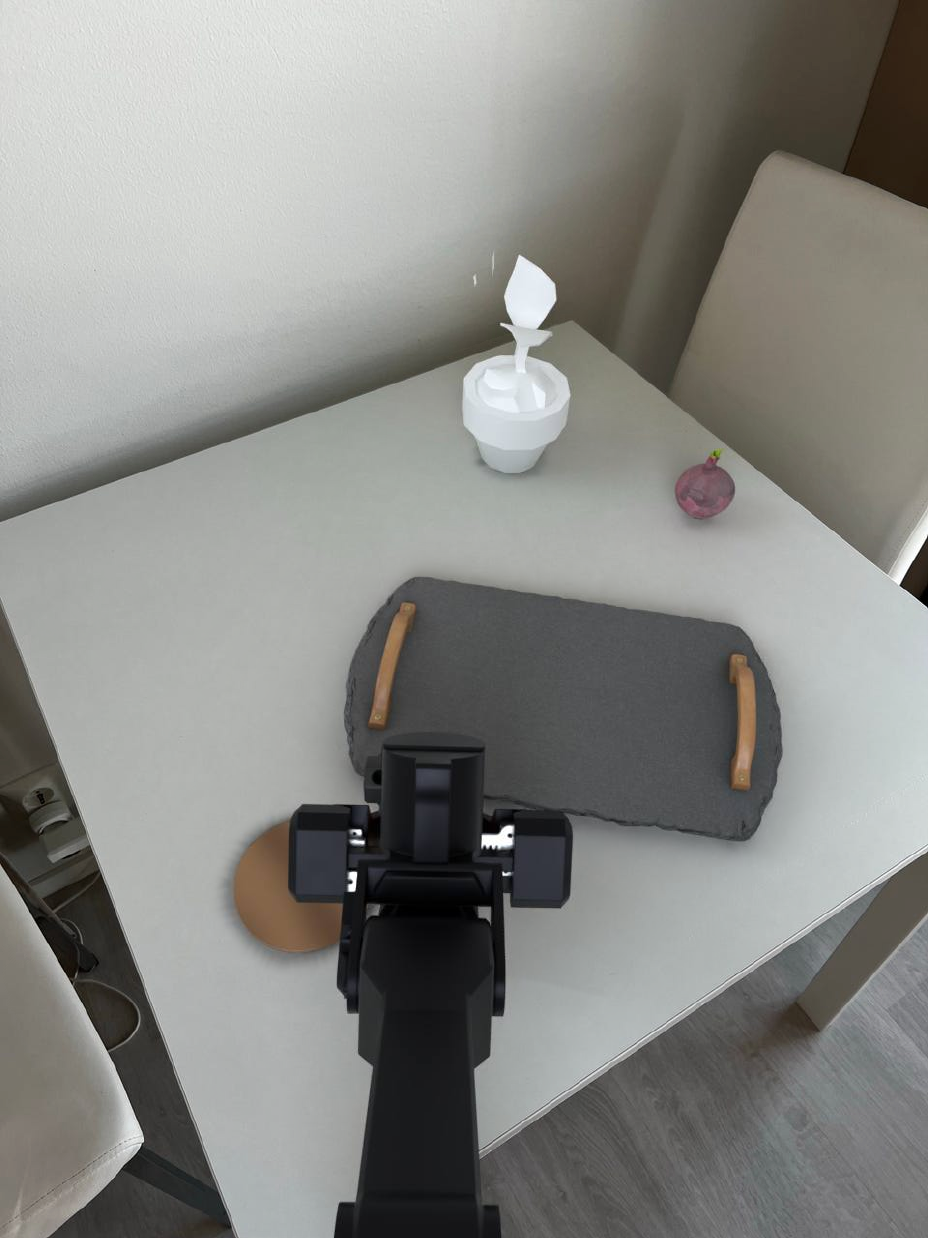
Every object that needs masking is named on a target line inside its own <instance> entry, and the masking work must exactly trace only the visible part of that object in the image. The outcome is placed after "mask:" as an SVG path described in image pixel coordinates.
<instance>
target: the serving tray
mask: <svg viewBox="0 0 928 1238" xmlns="http://www.w3.org/2000/svg"><path fill="white" fill-rule="evenodd" d="M366 628H367V629H366V631H365V633H364V634H363V636H362V637H361V639H360V641H359V643H358V645H357V647H356V649H355V651H354V653H353V656H352V658H351V661H350V663H349V669H348V674H347V680H346V683H345V691H346V700H345V704H344V709H343V722H344V724H343V725H344V730H345V732H346V742H347V745H348V756H349V760H350V762H351V764H352V767H353V769H354V771H355V773H356V774H357V775H358V776H360V777H362V778H364V767H365V763H366V758H367V757H368V756H379V755H380V754H381V747H382V744H383V741H384V740H385V739H386V738H388V737H390V736H394V735H397V734H403V733H412V732H445V733H455V734H462V735H467V736H471V737H474V738H477V739H479V740H481V741H483V742H484V743H485V770H484V797H483V800H491V801H502V802H503V801H504V802H509V803H512V804H515V805H519V806H522V807H525V808H527V809H531V810H554V811H562V812H563V813H564V814H568V815H573V816H576V817H590V818H595V819H598V820H601V821H603V822H609V823H610V822H612V823H615V824H616V825H619V826H623V827H641V826H643V827H657V828H659V829H661V830H664V831H669V832H671V831H672V832H673V831H677V832H680V833H683V834H688V835H694V836H702V837H707V838H711V839H715V840H716V839H717V840H724V841H730V842H746V841H749V840H751V838H752V837H753V836H754V834H755V833H756V832H757V831H758V829H759V826H760V825H761V821H762V818H763V815H764V812H765V811H766V808H767V807H768V805H769V804H770V802H771V801H772V800H773V797H774V790H775V788H776V786H777V783H778V769H779V766H780V764H781V761H782V758H783V752H784V751H783V750H784V748H783V741H782V739H783V738H782V737H783V734H782V733H783V732H782V731H783V730H782V721H781V720H782V719H781V717H782V714H781V713H782V712H781V708H780V705H779V703H778V701H777V693H776V691H775V688H774V687H773V683H772V680H771V678H770V675H769V673H768V669H767V667H766V665H765V664H764V662H763V661H762V659H761V656H760V655H759V653H758V652H757V650H756V648H755V644H754V642H753V641H752V638H751V637H750V636H749V635H748V634H747V632H746V631H744V629H743V628H741V627H740V626H739V625H738V626H737V625H734V624H731V623H727V622H720V621H714V620H713V621H712V620H706V619H703V618H698V617H691V616H682V615H678V614H677V615H676V614H669V613H664V612H658V611H651V610H644V609H637V608H633V609H632V608H627V607H624V606H615V605H611V604H608V603H601V602H600V603H599V602H592V601H591V602H590V601H585V600H580V599H575V598H564V597H560V596H558V595H557V596H556V595H547V594H539V593H535V592H527V591H520V590H519V591H518V590H513V589H505V588H500V587H495V586H489V585H482V584H475V583H474V584H473V583H465V582H461V581H457V580H447V579H446V580H445V579H441V578H440V579H439V578H434V577H430V576H429V577H428V576H413V577H411V578H410V579H408V580H406V581H405V582H403V583H402V584H400V585H399V586H398V587H397V588H396V589H395V590H394V591H393V592H392V593H391V595H389V596H388V597H387V599H386V601H385V603H383V605H382V606H380V607H379V608H378V609H377V611H376V612H375V613H374V615H373V616H372V618H371V619H370V620H369V623H368V624H367V627H366Z"/></svg>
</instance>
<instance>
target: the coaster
mask: <svg viewBox="0 0 928 1238" xmlns="http://www.w3.org/2000/svg"><path fill="white" fill-rule="evenodd" d="M289 826H290V821H286V822H283V823H281V824H279V825H276V826H274V827H273V828H270V829H269V830H267V831H266V832H265V833H262V835H260V836H259V837H258V838H257V839H256V840H255V841H253V843H252V844H251V845H250V846H249V847H248V849H247V850H246V851H245V853H244V854H243V856H242V857H241V859H240V861H239V864H238V867H237V869H236V872H235V876H234V880H233V889H232V890H233V901H234V906H235V909H236V912H237V915H238V917H239V919H240V921H241V923H242V924H243V926H244V927H245V929H246V930H247V932H249V934H251V936H253V937H254V938H255V939H256V940H257V941H259V942H260V943H262V944H264V945H266V946H267V947H270V948H272V949H274V950H278V951H282V952H285V953H309V952H315V951H319V950H322V949H325V948H327V947H330V946H332V945H335V944H336V943H338V942H340V932H341V921H342V909H343V904H337V903H297V902H296V901H295V899H294V898H293V897H292V896H291V894H290V893H289V890H288V857H289ZM354 892H355V891H354ZM370 905H371V904H367V910H368V909H369V906H370Z"/></svg>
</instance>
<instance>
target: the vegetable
mask: <svg viewBox="0 0 928 1238" xmlns="http://www.w3.org/2000/svg"><path fill="white" fill-rule="evenodd" d="M723 451H724V449H723V448H720V447H719V448H718V449H716V450H713V451H711V453H710V454H709V456H708V458H707V459H706V461H705V463H699V464H696V465H695V464H694V466H693V465H692V466H691V467H689V468H687V469H686V470H684V471H683V472H682V473H681V474H680V476H679V477H678V479H677V481H676V482H675V485H674V486H675V487H674V496H675V500H676V502H677V505H678V506H679V508H680V509H681V510H682V511H683V512H684V513H686V514H687V515H689V516H690V517H692V518H693V519H695V520H705V519H710V518H713V517H716V516H718V515H719V514H721V513H723V512H724V511H725V510H726V509H727V508H728V507H729V506H730V504H731V503H732V501H733V500H734V498H735V494H736V485H735V481H734V479H733V478H732V475H730V473H728V471H727V470H725V469H724V468H723V467H722V466H718V465H717V463H718V461H719V460H720V459H721V457H720V456H721V454H722V453H723Z"/></svg>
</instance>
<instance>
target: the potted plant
mask: <svg viewBox="0 0 928 1238" xmlns="http://www.w3.org/2000/svg"><path fill="white" fill-rule="evenodd" d="M491 257H492V258H491V259H492V269H491V271H492V273H491V275H492V276H493V275H494V274H493V272H494V269H495V260H494V259H495V251H493V253H492V255H491ZM472 279H473V283H474V286H476V284H478V283H477V278H476V275H474V276H472ZM556 291H557V290H556V283H555V282H554V281H553V280H552V279H551V278H550V277H549V276H548V275H547V273H545V272H544V271H543V270H542V268H540V267H538V265H536V264H534V263H533V262H531V261H530V260H528V259H526V257H524V256H522V255H521V254H518V256H517V260H516V263H515V265H514V269H513V272H512V274H511V276H510V278H509V281H508V283H507V285H506V289H505V291H504V295H503V298H504V303H505V308H506V312H507V314H508V316H509V318H510V320H511V322H512V324H509V323H503V322H500V325H499V326H501V327H503V328H506V329H507V330H508V331H510V332H511V334H512V336H513V338H514V339H515V341H516V346H515V350H514V354H509V355H508V354H506V355H505V354H504V355H503V354H501V355H496V356H493V357H490V358H487V359H484V360H483V361H479V362H477V363H475V364H474V365H473V366H472V368H471V369H470V370H469V371H468V372H467V374H465V376H464V377H463V379H462V380H463V383H462V403H461V410H462V421H463V427H465V428H466V429H467V430H468V431H469V432H470V433H471V434H472V435H473V436H474V439H475V442H476V444H477V448H478V450H479V453H480V456H481V459H482V461H483V462H484V463H485V464H487V466H488V467H489V468H490V469H493V470H495V471H498V472H501V473H503V474H521V473H523V472H526V471H528V470H531V469H533V468H534V466H535V465H536V463H537V462H538V461H539V459H540V457H542V454H543V453H544V450H545V449H546V447H547V445H548V444H549V443H552V442H555V441H556V440H557V439H558V438H559V436H560V434H561V433H562V431H563V430H564V428H565V427H566V426H567V421H568V414H569V407H570V401H571V391H570V386H569V381H568V377H567V376H566V375H564V374H563V373H562V372H561V371H560V370H559V369H557V368H556V367H555V366H554V365H553V364H552V363H550V362H547V361H544V360H541V359H538V358H535V357H532V356H529V355H528V352H529V349H530V348H531V347H539V346H540V345H542V344H543V343H544V342H545V341H547V340H548V339H549V338H551V337H553V332H552V331H551V330H543V329H539V327H540V326H541V325H542V323H543V322H544V320H545V319H546V318H547V317H548V314H549V313H550V311H551V310H552V308H553V306H554V305H555V303H556V302H557V292H556Z"/></svg>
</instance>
